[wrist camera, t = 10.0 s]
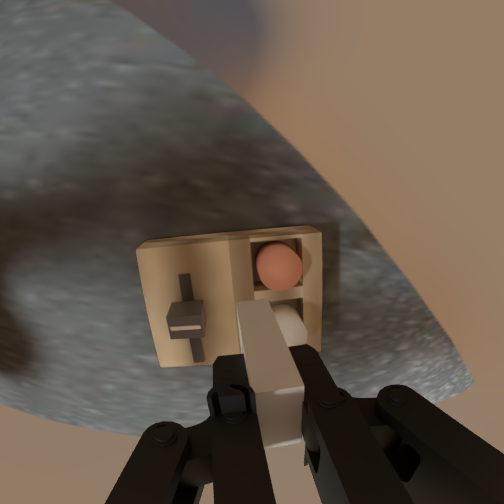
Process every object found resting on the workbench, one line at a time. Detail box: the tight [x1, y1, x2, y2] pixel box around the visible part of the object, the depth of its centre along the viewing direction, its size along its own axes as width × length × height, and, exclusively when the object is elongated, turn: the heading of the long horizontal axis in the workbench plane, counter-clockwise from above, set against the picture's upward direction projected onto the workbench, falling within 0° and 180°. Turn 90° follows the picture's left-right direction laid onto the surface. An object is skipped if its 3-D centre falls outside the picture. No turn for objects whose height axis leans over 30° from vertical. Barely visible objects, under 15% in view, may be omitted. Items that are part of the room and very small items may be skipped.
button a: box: [255, 240, 303, 291], centre depth 26 cm, size 4×4×3 cm
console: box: [136, 225, 322, 367], centre depth 28 cm, size 16×12×4 cm
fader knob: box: [166, 300, 207, 339], centre depth 24 cm, size 3×2×3 cm
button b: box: [271, 303, 308, 347], centre depth 26 cm, size 4×4×3 cm
